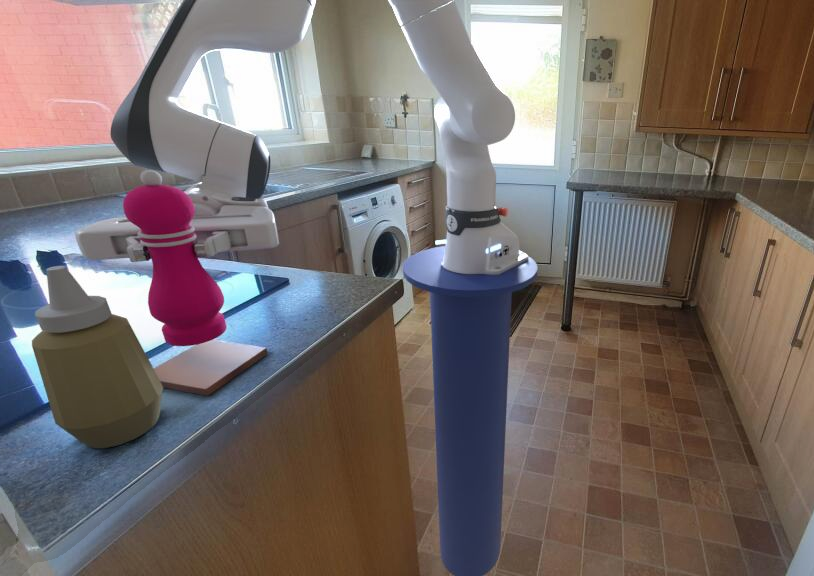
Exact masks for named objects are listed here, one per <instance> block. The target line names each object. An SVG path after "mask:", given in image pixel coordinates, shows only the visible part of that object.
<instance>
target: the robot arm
mask: <svg viewBox="0 0 814 576" xmlns="http://www.w3.org/2000/svg"><path fill="white" fill-rule="evenodd" d="M316 2H317V0H182V2H181V3H180V5H179V6H178V8H177V9H176V11H175V12H174V13H173V16H172V17H171V18H170V21H169V22H168V24H167V26H166V28H165V29H164V30H163V33H162V35H161V36H160V39H159V40H158V42H157V44H156V46H155V48H154V49H153V52H152V53H151V55H150V57H149V59H148V61H147V63H146V65H145V66H144V68H143V70H142V72H141V74H140V75H139V78H138V79H137V81H136V82H135V84H134V85H133V87H132V88H131V90H130V91H129V93H128V94H127V95H126V96H125V98H124V99H123V101H122V102H121V103H120V105H119V107H118V108H117V110H116V111H115V113H114V115H113V117H112V120H111V125H110V134H109V135H110V139H111V141H112V142H113V144H114V145H115V147H116V148H117V149H118V151H119V152H120V153H121V154H122V155H123V156H124V158H126V159H127V160H128V162H130V163H131V164H133V165H134V166H135V167H140V168H144V169H147V170H153V171H156V172H161V173H169V174H173V175H175V176H179V177H181V178H186V179H188V180H192V181H195V182H197V183H195V184H193V185H192V186H189V187H188V188H187V189H185V190H184V191H183V192H184V193H186V194H187V195H188V196H189V198H190V199H191V200H192V203H193V205H194V209H195V215H194V217H193V219H192V220H191V222H190V225H191V226H193V227H194V229H195V230H194V234H195V235H196V239H195V240H193V242H194V248H195V252H196V255H197V257H198V258H213V257H214V256H215V255H219V254H220V253H222V252H238V251H252V250H268V249H269V250H270V249H275V248H277V247H278V246H279V245H280V241H279V233H278V228H277V223H276V217H275V214H274V212H273V210H272V209H271V208H270V207H269V205H268V202H267V200H266V199H264V198H262V197H263V195H264V193H265V189H266V187H267V184H268V180H269V176H270V171H271V155H270V153H269V151H268V148H267V147H266V145H265V143H264V141H263V140H262V138H261V137H260V136H259V135H258V134H255V133H253V132H250V131H247V130H244V129H242V128H240V127H238V126H234V125H231V124H229V123H226V122H223V121H219V120H217V119H214V118H212V117H208V116H206V115H204V114H200V113H198V112H196V111H192V110H190V109H187V108H185V107H183V106H181V105H180V104H179V102H178V100H179V98H180V97H181V95H182V92H183V91H184V89H185V88H186V85H187V84H188V82H189V80H190V78H191V76H192V75H193V72H194V71H195V68H196V67H197V65H198V64H199V61H200V60H201V59H202V58H203V57H204V56H205V55H207V54H208V53H210V52H214V51H220V50H235V51H236V50H237V51H245V52H254V53H262V54H275V53H277V54H278V53H282V52H283V53H284V52H287V51H289V50H292V49H294V48H296V47H297V46H298V45H299V44H301V43H302V42H303V40H304V37H305V35H306V33H307V31H308V29H309V26H310V23H311V20H312V17H313V13H314V11H315V6H316ZM387 2H388V3H389V4H390V6H391V7H392V9H393V12H394V14H395V17H396V19H397V22H398V24H399V26H400V27H401V30H402V33H403V34H404V37H405V38H406V41H407V43H408V45H409V47H410V49H411V51H412V53H413V55H414V57H415V60H416V62H417V64H418V65H419V69H420V70H421V72H422V74H424V75H425V76H426V77H427V78H428V80H429V81H430V82H431V83H432V85H433V86H434V88H435V90H437V92H438V94H439V96H440V97H439V98H438V100H437V101H436V104H435V106H434V108H433V109H434V110H433V117H434V121H435V124H436V126H437V128H438V132H439V138H440V145H441V149H442V154H443V160H444V165H445V172H446V173H445V175H446V206H445V226H446V237H445V239H439V240H435V245H444V246H445V252H444V256H443V260H442V266H443V267H444V268H445V269H447V270H449V271H452V272H456V273H462V274H488V275H499V274H501V273H503V272H505V271H507V270H509V269H511V268H513V267H515V266H517V265H519V264H521V263H523V262H525V261H527V260H528V256H529V255H528V254H527V253H525V252H524V251H522V250H520V240H519V239H520V238H519V237H518V235H517V234H516V233H515V232H513V231H512V230H511V229H510V228H509V227H507V226H506V225H505V224H504V223H503V222H501V216H502V217H505V218H506V217H507V216H508V215H509V209H508V207H502V206H500V207H499V208H498V207H497V206H496V197H497V195H496V193H497V192H496V191H497V172H496V169H495V167H494V165H493V163H492V159H491V156H490V151H489V150H490V149H489V146H491V145H493V144H497V143H499V142H502V141H504V140H506V138H507V137H508V136H509V135H510V134H511V132H512V131H513V129H514V126H515V123H516V111H515V107H514V104H513V102H512V100H511V99H510V97H509V96H508V95H507V94H506V93H505V92H504V91H502V89H501V88H499V86H498V85H497V84H496V82H495V80H494V79H493V77H492V76H491V74H490V72H489V71H488V69H487V68H486V66H485V65H484V63H483V61H482V59H481V58H480V56H479V54H478V52H477V51H476V49H475V47H474V45H473V43H472V40H471V39H470V36H469V34H468V31H467V29H466V26H465V24H464V21H463V19H462V16H461V14H460V11H459V8H458V6H457V3H456V1H455V0H387ZM139 231H141V229H140V228H139V227H137V226H136V225H134V224H133V223H131V222H130V221H129V220H128V219H127V218H126V216H124V217H123V216H121V217H112V218H108V219H103V220H99V221H97V222H94V223H91V224H89V225H86V226H83V227H81V228H79V229H77V230H76V231H75V234H74V235H75V240H76V243H77V246H78V248H79V250H80V253H81V254H82V256H83V257H84V258H85V259H87V260H90V261H108V260H120V259H121V260H122V259H129V261H130V262H131V263H142V262H143V263H144V262H150V260H152V259H151V255H150V253H149V250H148V248H147V246H144V245H142V244H141V243H140V241H141V239H140V237H139V236H138V232H139Z"/></svg>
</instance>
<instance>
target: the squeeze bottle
mask: <svg viewBox="0 0 814 576" xmlns="http://www.w3.org/2000/svg"><path fill="white" fill-rule="evenodd" d="M45 269H46V270H45V271H46V282H47V290H48V298H49V299H48V301H49V303H48V304H46V305H43V306H42V307H39V308H38V309H37V310H35V312H34V316H35V319H36V321H37V323H38V325H39V327H40V330H41V331H40V332H39V333H38V334H37V335H36V336H35V337H34V338H33V339H32V340H31V347H32V351H33V355H34V357H35V360H36V364H37V367H38V370H39V373H40V377H41V380H42V384H43V387H44V390H45V394H46V397H47V401H48V404H49V407H50V410H51V414H52V416H53V417H52V418H53V420H54V423H55V425H56V426H58V427H59V428H61V429H62V430H64V431H65V432H66V433H67V434H69V435H70V436H72V437H73V438H75V439H76V440H78V441H79V442H80V443H81V444H83V445H84V446H87V447H89V448H91V449H107V448H113V447H116V446H120V445H123V444H126V443H128V442H131V441H133V440H135V439H138V437H141V436H142V435H144V434H146V433H147V432H149V431H150V430H151V429H152V428H153V427H154V426H155V425H157V423H158V421H159V419H160V415H161V414H160V413H161V408H162V401H163V399H162V398H163V392H164V391H163V390H164V388H163V386H162V384H161V382H160V380H159V378H158V376H157V374H156V372H155V371H154V367H153V365H152V363H151V361H150V359H149V358H148V355H147V354H146V352H145V350H144V348H143V346H142V344H141V343H140V341H139V339H138V337H137V335H136V333H135V331H134V329H133V328H132V325H131V324H130V321H129V320H128V318H127V317H124V316H121V315H117V314H114V313H112V311H111V308H110V306H109V303H108V301H107V298H106V297H105V296H104V297H103V296H101V295H88V293H87V292H86V291H85V290H84V288H83V287H82V286H81V284H80V283H79V281H77V280H76V278H75V277H74V276H73V274H72V273H71V272H70V271H69V269H68V268H67V267H66V266H65V265H54V266H49V267H48V268H45Z"/></svg>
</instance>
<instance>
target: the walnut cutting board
mask: <svg viewBox="0 0 814 576" xmlns="http://www.w3.org/2000/svg"><path fill="white" fill-rule="evenodd" d="M268 354H269V352H268V348H267V347H264V346H258V345H251V344H244V343H239V342H234V341H233V342H232V341H227V340H220V339H213V340H210V341H208V342H205V343H201V344H197V345H192V346H190V348H187V349H186V350H184V351H182V352H181V353H179V354H177V355H175V356H174V357H171V358H170V359H168V360H166V361H164V362H162V363H161V364H159V365H157V366H156V367H153V369H154V371H155V372H156V374H157V376H158V378H159V380H160V382H161V384H162V386H163V389H169V390H174V391H180V392H185V393H191V394H195V395H201V396H206V397H208V396H210V395H211V394H213V393H215V392H216V391H217V390H219V389H220V388H221V387H223V386H224V385H226V384H227V383H229V382H230V381H231V380H233V379H234V378H235V377H237V376H238V375H240V374H241V373H243V372H244V371H246V370H247V369H248V368H250V367H251V366H252V365H254V364H255V363H257V362H258V361H260V360H262V359H263V358H264V357H265V356H267V355H268Z"/></svg>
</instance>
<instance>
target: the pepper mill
mask: <svg viewBox="0 0 814 576" xmlns="http://www.w3.org/2000/svg"><path fill="white" fill-rule="evenodd" d="M139 176H140V181H141V183H142V184H143V185H140V186H138V187H135V188H133V189H131V190H130V191H128V193H126V195H125V196H124V198H123V202H122V209H123V214H124V215H125V217H126V218H127V219H128V220H129V221H130V222H131V223H133V224H134V225H136V226H137V227H139V228H140V229H141V231H139V232H138V236H139V237H140V239H141V241H140V243H141V244H142V245H144V246H147V248H148V250H149V253H150V255H151V259H150V260H151V263H152V276H151V282H150V285H149V290H148V294H147V305H148V310H149V313H150V316H151V317H152V318H154V319H155V320H156V321H158V322H160V323H162V324H163V325H162V327H161V332H162V336H163V338H164V342H165V343H167V344H168V345H170V346H174V347H192V346H195V345H197V344H201V343H205V342H208V341H210V340H213V339H214V340H216V339H217V338H219V337H220V336H222V335H223V334H224V333H225V332H226V331H227V328H228V327H227V323H226V318H225V315H224V314H223V313H222V312H220V311H221V309H222V308H223V307H224V303H225V296H224V294H223V291H222V289H221V287H220V286H219V284H218V283H217V281H216V280H215V279H214V278H213V277H212V276H211V275H210V274H209V272H208V271H207V270H206V269H205V268H204V267H203V266H202V263H201V261H200V259H199V257H197V255H196V252H195V248H194V242H193V240H195V239H196V235H195V234H194V230H195V229H194V227H193V226H191V225H190V222H191V220H192V219H193V217H194V215H195V209H194V205H193V203H192V200H191V199H190V198H189V196H188V195H187V194H186V193H184V191H183V190H182V189H181V188H177V187H175V186H172V185H167V184H162V183H163V177H162V175H161V174H160V173H159V171H156V170H152V169H146V170H143V171H142V172H141V173H140V175H139Z"/></svg>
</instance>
